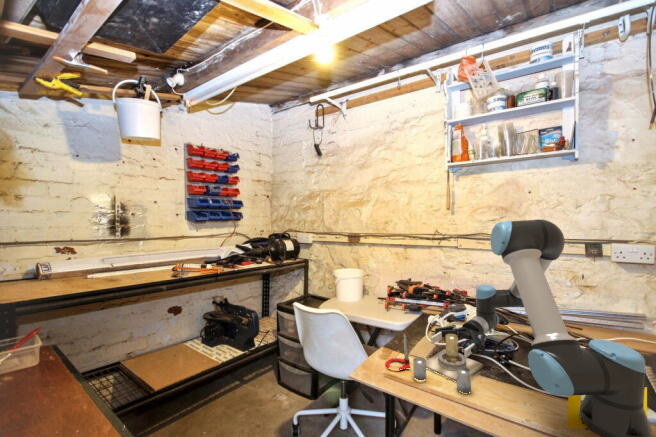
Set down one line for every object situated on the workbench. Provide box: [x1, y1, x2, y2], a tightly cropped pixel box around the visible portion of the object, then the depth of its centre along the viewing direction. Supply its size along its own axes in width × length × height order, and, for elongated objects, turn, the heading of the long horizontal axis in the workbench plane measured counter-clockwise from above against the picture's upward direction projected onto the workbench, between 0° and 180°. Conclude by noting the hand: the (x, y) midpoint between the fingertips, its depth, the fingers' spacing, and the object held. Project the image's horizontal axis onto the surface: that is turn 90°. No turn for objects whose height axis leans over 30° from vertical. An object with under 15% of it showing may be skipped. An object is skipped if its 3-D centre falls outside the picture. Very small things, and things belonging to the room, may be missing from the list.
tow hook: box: [384, 333, 411, 370], centre depth 125 cm, size 8×13×9 cm
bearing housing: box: [426, 348, 484, 383], centre depth 123 cm, size 16×16×4 cm
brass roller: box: [445, 334, 459, 363], centre depth 122 cm, size 4×4×11 cm
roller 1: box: [412, 356, 427, 380], centre depth 116 cm, size 4×4×7 cm
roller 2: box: [456, 367, 472, 393], centre depth 109 cm, size 4×4×7 cm
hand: (447, 346), depth 120 cm, fingers open, 13 cm apart
